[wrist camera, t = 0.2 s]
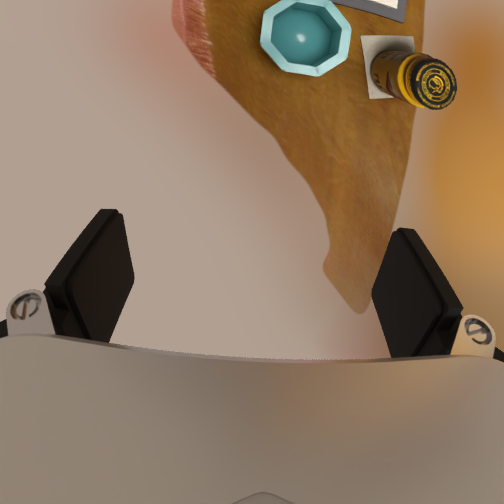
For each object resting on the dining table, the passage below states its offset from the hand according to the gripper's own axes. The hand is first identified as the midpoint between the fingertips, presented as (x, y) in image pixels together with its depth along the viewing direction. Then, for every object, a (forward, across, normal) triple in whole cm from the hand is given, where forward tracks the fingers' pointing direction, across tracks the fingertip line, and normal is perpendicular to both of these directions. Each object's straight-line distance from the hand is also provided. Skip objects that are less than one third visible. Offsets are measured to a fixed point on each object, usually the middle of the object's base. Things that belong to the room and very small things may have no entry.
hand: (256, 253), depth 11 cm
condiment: (+31, -16, -8) cm, 36 cm away
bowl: (+31, -4, -9) cm, 33 cm away
